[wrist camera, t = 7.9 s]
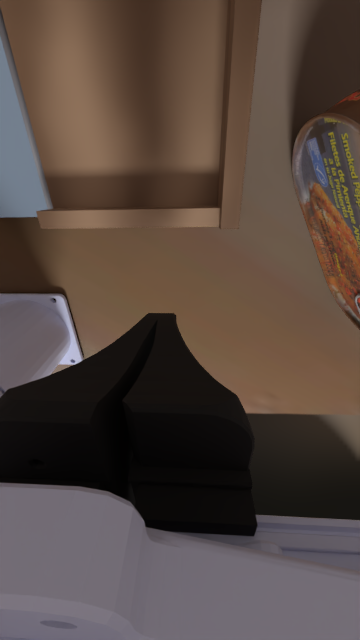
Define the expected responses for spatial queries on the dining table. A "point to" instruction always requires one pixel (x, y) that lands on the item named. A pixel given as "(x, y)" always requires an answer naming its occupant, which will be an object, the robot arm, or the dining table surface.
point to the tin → (333, 196)
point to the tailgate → (17, 145)
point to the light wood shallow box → (138, 107)
